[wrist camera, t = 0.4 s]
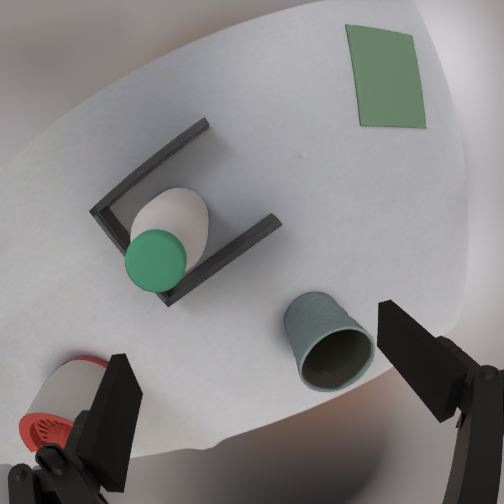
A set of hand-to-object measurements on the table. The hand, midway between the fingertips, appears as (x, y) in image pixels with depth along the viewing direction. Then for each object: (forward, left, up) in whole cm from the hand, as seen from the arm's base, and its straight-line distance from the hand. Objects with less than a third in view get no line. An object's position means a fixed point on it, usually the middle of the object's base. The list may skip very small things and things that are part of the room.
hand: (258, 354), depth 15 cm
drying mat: (-21, +26, -29) cm, 44 cm away
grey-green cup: (+15, +11, -29) cm, 34 cm away
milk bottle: (-3, -6, -29) cm, 30 cm away
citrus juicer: (+23, -27, -29) cm, 46 cm away
